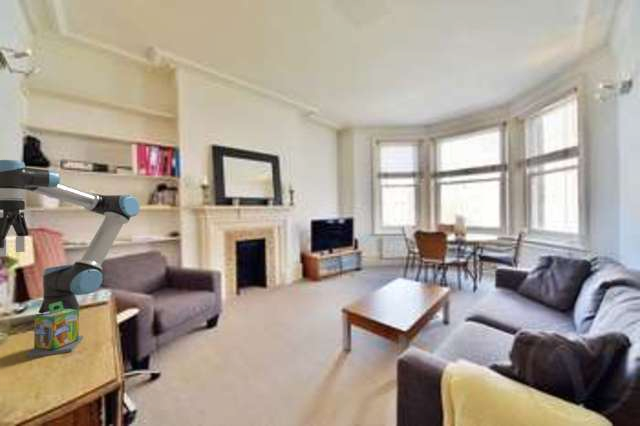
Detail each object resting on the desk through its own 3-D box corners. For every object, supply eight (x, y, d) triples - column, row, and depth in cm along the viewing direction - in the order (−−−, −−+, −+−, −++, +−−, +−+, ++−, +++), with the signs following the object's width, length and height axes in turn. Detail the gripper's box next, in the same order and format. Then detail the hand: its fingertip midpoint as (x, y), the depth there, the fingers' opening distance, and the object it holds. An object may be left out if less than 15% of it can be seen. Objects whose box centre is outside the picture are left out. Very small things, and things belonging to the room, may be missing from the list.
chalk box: (53, 351, 102) (53, 307, 102) (32, 348, 104) (32, 306, 104) (80, 340, 111) (80, 300, 111) (60, 337, 113) (61, 298, 113)
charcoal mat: (42, 344, 111) (42, 340, 111) (82, 338, 116) (82, 335, 116) (26, 358, 100) (26, 354, 100) (71, 351, 105) (71, 348, 105)
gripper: (15, 200, 127) (15, 250, 127) (-23, 198, 104) (-22, 259, 104) (38, 201, 130) (38, 249, 130) (6, 198, 107) (6, 257, 107)
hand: (11, 254), depth 117 cm, fingers open, 13 cm apart
